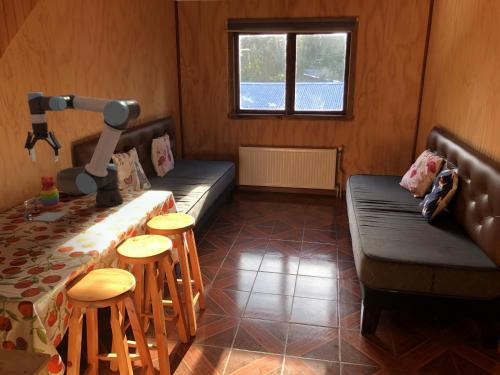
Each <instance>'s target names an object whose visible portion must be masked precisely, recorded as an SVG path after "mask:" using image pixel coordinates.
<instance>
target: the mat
mask: <svg viewBox="0 0 500 375" xmlns="http://www.w3.org/2000/svg"><path fill="white" fill-rule="evenodd" d="M67 215H68V213H67V212H48V211H46V212H45V213H43V214H41V215H39V216H37V217H35V218H32V220H31V221H32V222H43V223H45V222H46V223H54V222H56V221H59V220H61V219H62V218H63V217H65V216H67Z"/></svg>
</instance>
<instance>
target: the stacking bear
mask: <svg viewBox="0 0 500 375" xmlns="http://www.w3.org/2000/svg"><path fill="white" fill-rule="evenodd" d="M40 179H41V180H40V183H41V186H42V187H41V189H40V196H39V198H40V201H41V203H42V206H41V207H42V208H41V209H42V210H46V211H50V210H56V209H59V208H63V207H64V206H65V203H64V202H61V201H60V194H59V191H58V188H57V187H56V186H55V184H56V180H55V179H54V177H53V176H49V175H48V176H41V177H40Z"/></svg>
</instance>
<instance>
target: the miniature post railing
mask: <svg viewBox="0 0 500 375" xmlns="http://www.w3.org/2000/svg"><path fill="white" fill-rule="evenodd" d="M36 199H37V197H36V196H32V198H29V199H27V200H24V201H23V204H24V205H23V206H24V209H25V210H24V211H25V214H24V215H23V218H24V219H23V221H24V222H31V221H32V220H33V217H32V214H39V213H40V212H41V210H40V209H38V207H37V200H36ZM32 201H33V205H34V210H33V211H32V214H31V213H29V210H28V209H29V208H28V206H29V205H28V203H30V202H32Z"/></svg>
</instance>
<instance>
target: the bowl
mask: <svg viewBox="0 0 500 375" xmlns="http://www.w3.org/2000/svg"><path fill="white" fill-rule="evenodd" d="M84 168H85V166H73V167H67V168H63V169H60V170H58V171H57V174H56V184H57V186H58V187H59V189H60V191H62V193H64V194H67V195H69V196H82V195H84V194H85V193H83V192H81V191H80V190H79V189H78V186H77V184H76V178H77V176H78V175H79V174H81V173H83V171H84Z"/></svg>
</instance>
